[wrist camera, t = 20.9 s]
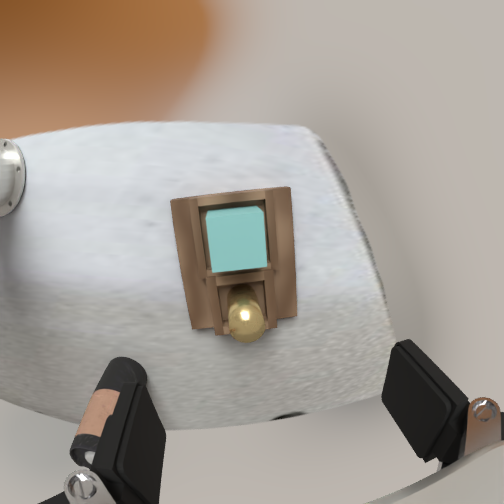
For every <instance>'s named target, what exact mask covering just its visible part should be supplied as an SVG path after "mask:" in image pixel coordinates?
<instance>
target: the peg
mask: <svg viewBox="0 0 504 504" xmlns="http://www.w3.org/2000/svg"><path fill="white" fill-rule="evenodd" d="M227 306H228V319H229V331H230V334H231V335H232V337H233V338H234V339H236V340H237V341H240V342H244V343H249V342H253V341H256V340H257V339H259V338H260V337H261V336H262V335H263V333H264V331H265V322H264V318H263V315H262V312H261V308H260V305H259V302H258V299H257V295H256V292H255V290H254V289H253V288H252V287H250V286H249V285H245V284H239V285H236V286H234V287H232V288H231V289H230V290H229V292H228V294H227Z"/></svg>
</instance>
